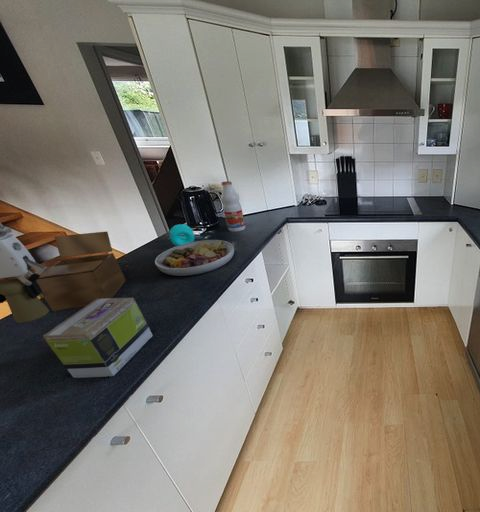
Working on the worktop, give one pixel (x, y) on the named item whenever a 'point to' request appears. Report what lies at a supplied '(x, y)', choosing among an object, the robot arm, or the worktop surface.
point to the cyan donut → (181, 230)
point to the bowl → (195, 257)
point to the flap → (83, 244)
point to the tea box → (100, 337)
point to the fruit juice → (232, 208)
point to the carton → (80, 281)
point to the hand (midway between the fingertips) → (20, 297)
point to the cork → (21, 301)
